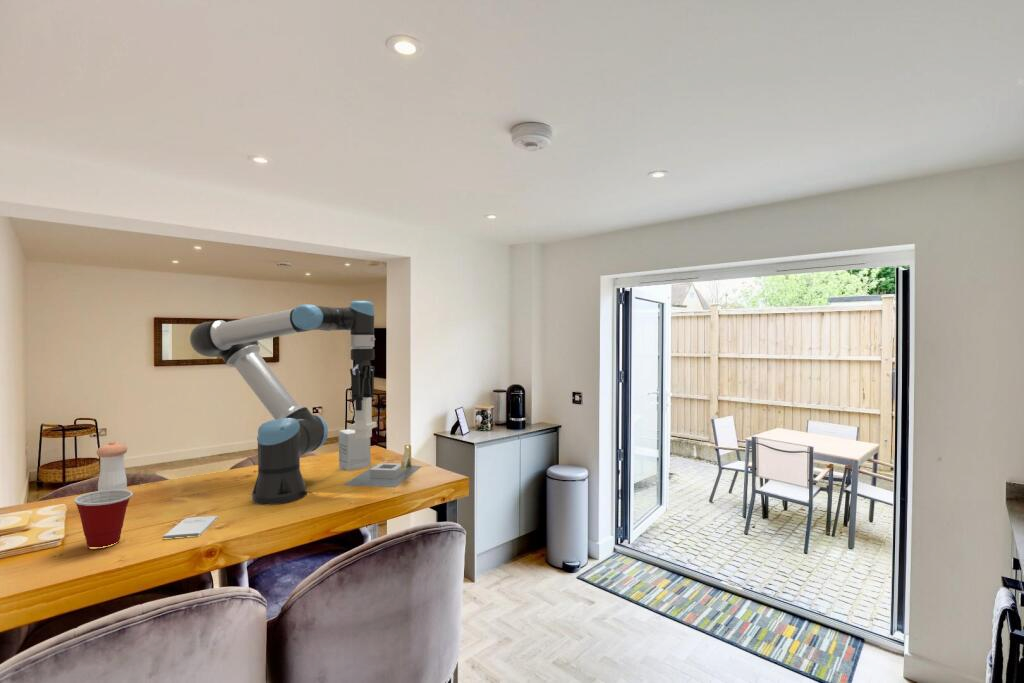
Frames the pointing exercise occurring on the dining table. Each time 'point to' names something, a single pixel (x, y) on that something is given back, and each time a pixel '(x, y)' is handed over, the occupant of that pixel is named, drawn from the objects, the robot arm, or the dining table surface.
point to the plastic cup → (103, 515)
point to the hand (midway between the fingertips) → (363, 418)
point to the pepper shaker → (112, 467)
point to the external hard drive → (191, 527)
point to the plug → (364, 427)
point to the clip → (406, 457)
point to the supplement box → (353, 451)
